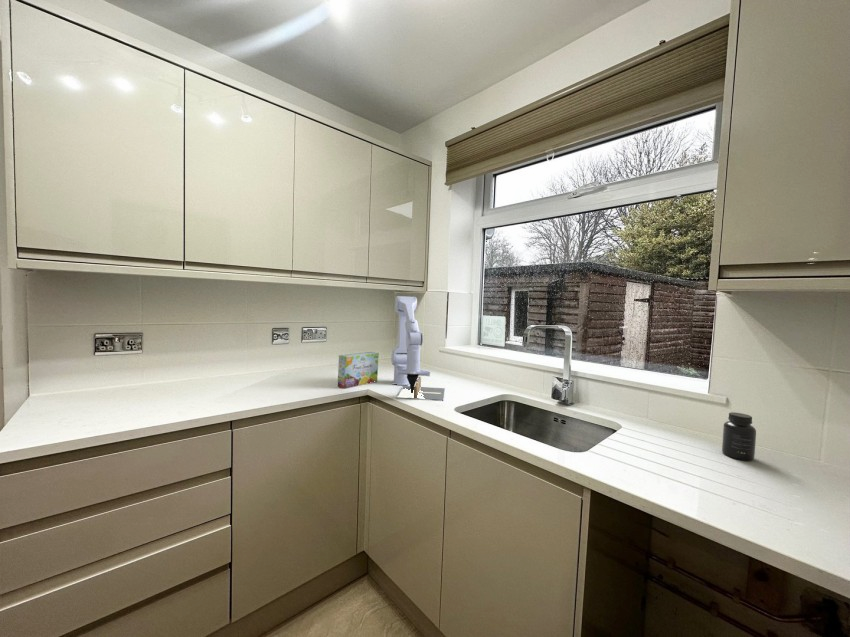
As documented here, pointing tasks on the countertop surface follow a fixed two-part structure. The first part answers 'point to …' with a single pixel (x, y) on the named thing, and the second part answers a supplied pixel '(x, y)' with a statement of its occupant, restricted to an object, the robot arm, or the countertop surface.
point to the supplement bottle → (739, 437)
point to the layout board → (429, 391)
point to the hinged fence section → (416, 389)
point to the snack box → (357, 369)
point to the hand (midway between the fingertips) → (412, 392)
